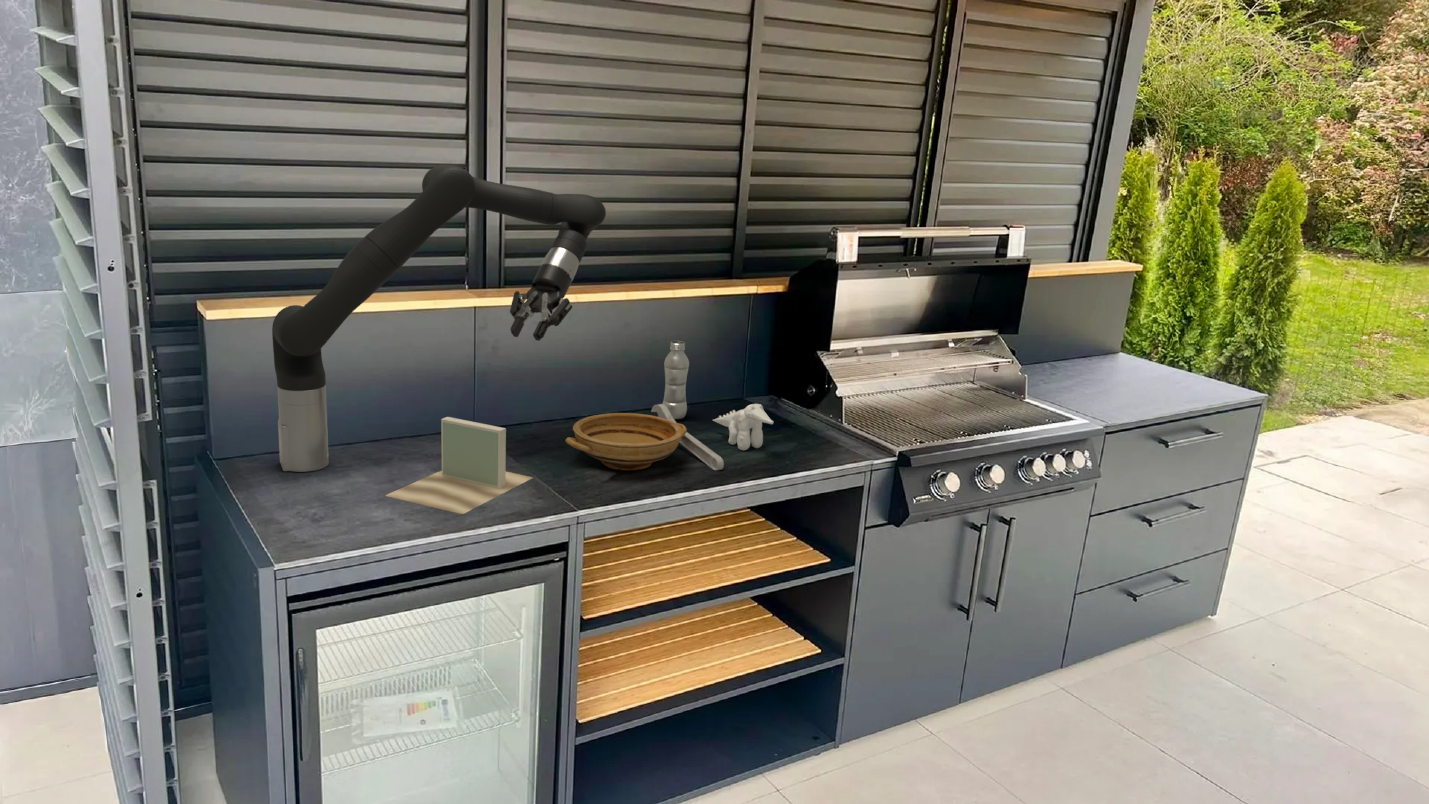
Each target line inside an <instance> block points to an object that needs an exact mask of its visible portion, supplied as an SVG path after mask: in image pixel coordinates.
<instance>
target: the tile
mask: <svg viewBox="0 0 1429 804" xmlns="http://www.w3.org/2000/svg"><path fill="white" fill-rule="evenodd" d="M440 421H441V422H440V423H441V424H440V425H441V427H440V428H441V429H440V430H441V431H440V433H441V435H440V437H441V438H440V439H441V443H440V444H441V470H442V476H446V477H450V478H455V479H459V480H464V481H468V482H473V483H477V484H482V485H486V486H490V487H495V488H499V489H500V488H502V487H504V486H505V472H507V470H506V467H507V466H506V460H507V459H506V457H507V456H506V455H507V454H506V452H507V450H506V447H507V444H506V443H507V439H506V438H507V428H505V427H501V426H495V425H491V424H486V423H482V422H475V421H470V420H465V419H460V418H456V417H452V416H446V417H443V418H441V419H440Z"/></svg>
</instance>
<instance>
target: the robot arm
mask: <svg viewBox="0 0 1429 804" xmlns="http://www.w3.org/2000/svg"><path fill="white" fill-rule="evenodd" d="M421 187H422V192H420V194H419V195H418V196H416V198H415V199H414V200H413V201H412V202H411V203H410V204H409V205H408V206H406V207H405V208H404V209H402V210H401V211H400V212H398V213H397V214H395V215H393V216H392V217H389V218H388V219H386V220H385V221H384V222H382V223H380V224H379V225H378V226H376V227H374V228H373V229H371V231H369V233H367V234H366V235H365V236H363V238H362V239H361V240H360V241H359V242H357V244H355V245H354V246H353V247H352V248H351V249H350V250H349V251H348V252H347V254H346V255H345V256H344V257H343V259H342V260H341V262H340V263H339V265H338V267H337V268H336V270H335V271H334V272H333V275H331V278H330V279H329V281H328V283H326V285H325V286H324V287H323V288H322V289H321V290H320V291H319V292H318V293H317V294H316V295H315V296H314V297H313V298H311V299H310V300H309V301H308V302H307V303H306V304H304V305H300V304H299V305H298V304H293V305H288V306H286V307H284V308H282V309H280V310H279V311H278V313H277V314H276V315H275V316H274V318H273V321H272V326H271V327H272V331H271V335H272V336H271V337H272V351H273V365H274V371H275V375H276V382H277V383H276V386H277V404H278V406H277V407H278V419H277V429H278V451H279V463H280V466H281V468H282V471H283V472H295V473H296V472H299V473H302V472H303V473H304V472H305V473H307V472H314V471H318V470H321V469H322V470H323V469H324V468H326V467H327V466H329V454H330V453H329V439H328V437H329V434H328V432H329V431H328V407H327V385H326V384H327V382H326V381H327V380H326V371H325V367H324V365H323V358H322V348H323V347H324V346H326V344H327V343H328V341H329V340H330V338H332V336H333V335H334V334H335V333H336V331H337V330H338V329H339V328H340V327H341V325H343V323H344V322H345V321H346V319H347V318H349V316H350V315H351V314H352V313H353V312H354V311H355V310H356V309H357V308H359V307H360V306H361V305H363V303H365V302H366V301H367V300H368V299H369V298H370V297H371V296H372V295H373V294H374V293H376V291H377V290H379V289H380V288H381V287H382V286H383V285H384V284H385V283H386V282H387V281H389V279H391V278H392V277H393V276H394V275H395V274H396V273H397V272H398V271H399V270H400V269H401V268H402V267H403V266H404V265H405V264H406V263H407V261H409V259H410V258H411V257H413V255H414V254H415V253H416V252H417V251H418V250H419V249H420V248H421V247H422V245H424V243H425V242H426V241H427V240H428V239H429V238H430V237H431V236H432V235H433V234H434V233H435V232H436V231H437V230H439V229H440V228H441V227H442V226H443V225H444V224H446V223H447V222H448V221H450V220H451V219H452V218H454V217H455V216H456V215H457V214H459V213H460V212H462V211H463V210H464V209H465V208H467V209H477V210H482V211H489V212H491V213H498V214H501V215H505V216H509V217H512V218H516V219H520V220H524V221H527V222H531V223H537V224H542V225H547V226H548V225H549V226H555V225H558V224H560V227H559V229H558V234H557V236H556V237H555V239H554V241H553V243H552V245H551V247H550V249H549V251H548V252H547V254H546V255H545V256H544V258H543V261H542V262H541V264H540V266H539V268H538V269H537V272H536V274H535V276H534V279H532V280H533V281H532V282H531V283H532V284H531V288H530V289H529V290H527V292H523V293H520V291H519V290H518V291H517V290H516V291H514V292H513V293H514V294H513V298H512V302H511V306H510V310H509V313H510V315H511V316H512V318H513V319H514V320H513V322H512V324H511V326H510V333H511V335H512V336H513V337H514V338H518V337H519V335H520V333H521V332H522V329H523V327H524V326H525V323H526V322H527V321H528V319H529V318H532V317H533V316H534V315H535V314H538V313H541V320H539V322H538V323H537V325H536V328H535V330H534V331H533V334H532V336H533V338H534V339H535V341H538V342H539V341H541V339H543V338H544V337H545V335H546V332H547V331H548V329H549V328H550V327H551V326H555V327H558V326H559V325H560V324H561V323H562V322H563V320H564V319H565V318H566V316H567V315H568V314H569V312H571V310H572V309H573V305H572V302H571V301H570V299H569V298H567V297H566V295H567V292H568V290H569V288H570V287H571V284H572V282H573V280H574V278H575V276H576V274H577V271H578V269H579V266H580V264H581V261H582V259H583V258H584V254H585V253H586V250H587V245H588V244H587V240H588V238H589V236H590V234H591V233H592V232H593V231H594V230H595V229H596V228H597V227H599V226H601V224H602V223H603V222H604V220H605V218H606V215H607V214H606V213H607V212H606V211H607V210H606V207H605V205H604V204H603V202H601V200H599V199H598V198H597V197H594V196H593V195H589V194H582V193H553V192H549V191H545V190H541V189H535V188H531V187H524V186H518V185H512V184H505V183H500V182H499V183H498V182H495V181H488V180H487V179H482V178H478V177H476V176H475V177H474V176H473V175H472V174H471V173H470V172H469V171H468V170H466V169H464V167H463V168H462V167H460V166H457V165H451V164H439V165H436V166H433V167H432V168H430V169H428V171H427V172H426V173H425V174H424V176H423V178H422V183H421ZM565 297H566V298H565Z"/></svg>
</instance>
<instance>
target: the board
mask: <svg viewBox="0 0 1429 804" xmlns="http://www.w3.org/2000/svg"><path fill="white" fill-rule="evenodd" d="M532 479H534V477H533V476H529V475H524V474H519V473H514V472H511V471H506V472H505V486H504V487H502V488H500V489H499V488H495V487H490V486H486V485H482V484H477V483H473V482H468V481H464V480H459V479H455V478H450V477H446V476H442V469H441V470H440V471H437V472H434V473H433V474H430V475H428V476H426V477H423V478H422V479H418V480H417V481H414V482H412V483H410V484H408V485H405V486H403V487H401V488H399V489H396V490H395V491H392V492H390V493H387V494H386V495H384V497H389V498H393V499H396V500H401V501H405V502H408V503H413V504H417V505H421V506H426V507H429V508H434V509H438V510H441V511H442V510H443V511H446V512H449V513H450V512H451V513H454V514H458V515H464V514H466V513H468V512H470V511H472V510H474V509H476V508H478V507H480V506H482V505H484V504H486V503H488V502H489V501H492V500H493V499H495V498H497V497H499V496H501V495H504V494H505V493H507V492H509V491H511V490H513V489H515V488H516V487H518V486H520V485H522V484H524V483H527V482H529V481H530V480H532Z"/></svg>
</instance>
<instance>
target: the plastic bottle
mask: <svg viewBox="0 0 1429 804" xmlns="http://www.w3.org/2000/svg"><path fill="white" fill-rule="evenodd" d="M669 349H670V352H669V353H668V354H667V355H666V357H665V360H664V365H663V367H664V377H665V378H664V379H665V380H664V382H665V385H664V393H663V394H664V396H663V401H662V404H664V405H665V406H666V407H667V408H668V410H669V412H670V414H671V415H672V417H673V419H674V420H682V419H684V417H685V416H686V415H687V411H688V407H687V406H688V405H687V397H686V394H687V392H686V386H687V377H688V373H689V367H690V361H689V358H688V356H687V355H686V353H685V350H686V343H685V341H682V340H672V341H670V347H669Z"/></svg>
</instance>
